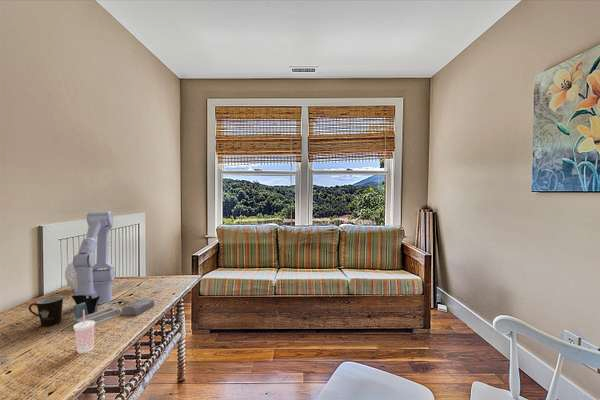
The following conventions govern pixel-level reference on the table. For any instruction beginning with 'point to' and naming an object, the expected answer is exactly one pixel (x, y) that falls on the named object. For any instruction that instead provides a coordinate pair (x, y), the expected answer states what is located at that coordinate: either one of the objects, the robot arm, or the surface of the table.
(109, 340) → the table surface
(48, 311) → the coffee mug
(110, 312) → the rectangular tray
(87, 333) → the beverage cup
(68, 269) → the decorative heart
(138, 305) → the stone block
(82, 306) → the door panel
